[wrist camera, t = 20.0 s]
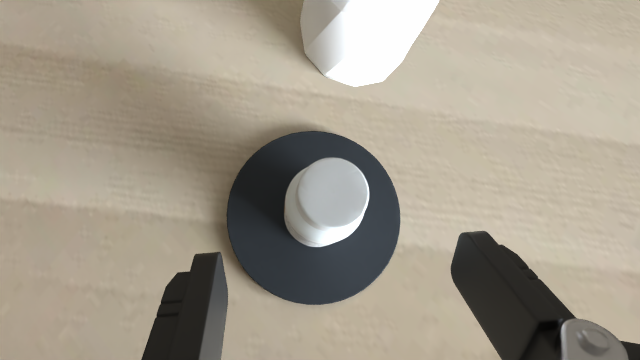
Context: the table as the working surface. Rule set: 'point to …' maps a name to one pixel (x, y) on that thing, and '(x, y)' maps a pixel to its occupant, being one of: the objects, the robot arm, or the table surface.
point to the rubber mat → (291, 255)
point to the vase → (361, 36)
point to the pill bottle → (325, 202)
